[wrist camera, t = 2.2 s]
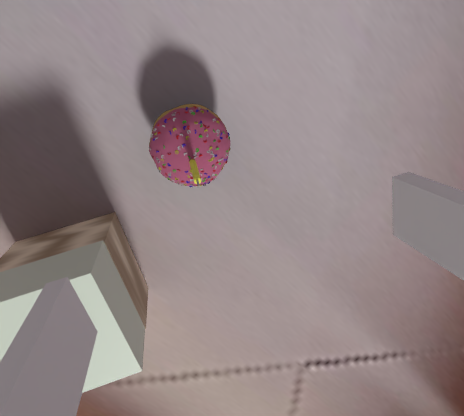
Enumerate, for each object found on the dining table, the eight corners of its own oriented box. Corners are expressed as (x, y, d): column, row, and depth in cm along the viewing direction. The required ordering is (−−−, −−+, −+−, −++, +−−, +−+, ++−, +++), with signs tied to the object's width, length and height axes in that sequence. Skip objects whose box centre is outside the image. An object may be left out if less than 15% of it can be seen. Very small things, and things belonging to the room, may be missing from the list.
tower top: (39, 363, 34) (17, 416, 29) (-21, 278, 30) (-62, 322, 24) (144, 327, 36) (142, 371, 30) (102, 240, 31) (90, 273, 25)
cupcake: (222, 173, 39) (246, 206, 28) (153, 176, 37) (150, 214, 27) (221, 101, 36) (248, 108, 25) (146, 102, 34) (140, 109, 23)
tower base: (61, 316, 42) (40, 364, 34) (16, 241, 37) (-20, 279, 30) (148, 287, 43) (145, 328, 36) (115, 211, 38) (104, 241, 31)
